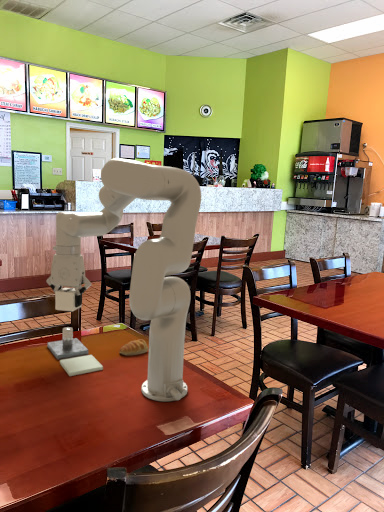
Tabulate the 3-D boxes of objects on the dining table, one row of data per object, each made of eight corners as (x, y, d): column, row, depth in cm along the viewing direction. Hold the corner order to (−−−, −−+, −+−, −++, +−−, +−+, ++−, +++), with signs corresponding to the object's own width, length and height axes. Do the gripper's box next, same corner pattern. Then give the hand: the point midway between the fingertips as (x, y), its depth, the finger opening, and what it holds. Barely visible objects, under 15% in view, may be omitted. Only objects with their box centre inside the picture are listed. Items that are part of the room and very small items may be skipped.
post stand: (88, 354, 133) (88, 332, 132) (57, 359, 128) (57, 336, 127) (76, 342, 143) (77, 321, 142) (47, 346, 138) (47, 325, 137)
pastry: (126, 358, 132) (126, 347, 131) (114, 352, 137) (115, 341, 136) (149, 352, 138) (150, 341, 138) (138, 346, 143) (138, 336, 142)
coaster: (102, 369, 123) (102, 366, 122) (69, 376, 117) (69, 372, 117) (91, 357, 131) (91, 354, 131) (59, 363, 125) (59, 360, 125)
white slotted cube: (72, 311, 130) (72, 292, 129) (55, 309, 131) (55, 290, 130) (81, 306, 135) (81, 288, 134) (64, 305, 136) (64, 286, 136)
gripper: (37, 250, 128) (38, 305, 131) (88, 253, 125) (88, 310, 128) (50, 247, 136) (50, 300, 138) (98, 250, 132) (98, 304, 135)
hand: (68, 304), depth 133 cm, fingers closed on white slotted cube, 5 cm apart
